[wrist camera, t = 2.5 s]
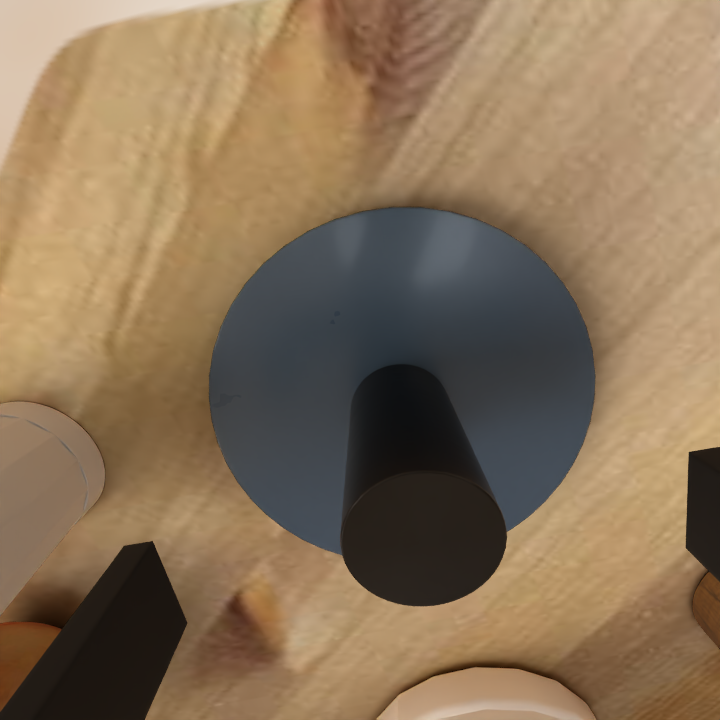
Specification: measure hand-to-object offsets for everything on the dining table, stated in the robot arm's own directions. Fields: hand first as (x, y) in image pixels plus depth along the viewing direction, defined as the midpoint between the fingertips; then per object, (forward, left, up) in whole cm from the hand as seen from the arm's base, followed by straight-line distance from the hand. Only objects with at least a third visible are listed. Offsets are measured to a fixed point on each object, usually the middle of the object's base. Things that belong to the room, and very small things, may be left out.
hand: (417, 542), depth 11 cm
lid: (0, 0, -8) cm, 8 cm away
